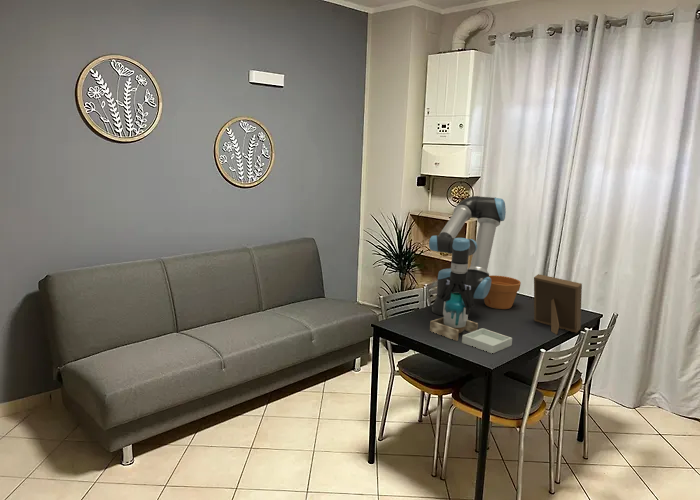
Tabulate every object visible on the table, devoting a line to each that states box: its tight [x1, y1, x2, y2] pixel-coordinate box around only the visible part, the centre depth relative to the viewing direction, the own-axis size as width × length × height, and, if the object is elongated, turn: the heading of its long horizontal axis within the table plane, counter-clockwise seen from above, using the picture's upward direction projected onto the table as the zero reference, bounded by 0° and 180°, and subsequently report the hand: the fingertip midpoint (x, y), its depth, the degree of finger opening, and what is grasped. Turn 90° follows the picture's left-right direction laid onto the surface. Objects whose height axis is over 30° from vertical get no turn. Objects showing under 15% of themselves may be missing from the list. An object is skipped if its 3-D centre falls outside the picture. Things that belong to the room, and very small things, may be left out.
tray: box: [461, 327, 513, 354], centre depth 235 cm, size 16×16×4 cm
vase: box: [443, 292, 466, 334], centre depth 246 cm, size 11×11×19 cm
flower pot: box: [483, 274, 522, 310], centre depth 292 cm, size 21×21×15 cm
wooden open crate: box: [429, 316, 479, 342], centre depth 248 cm, size 16×16×5 cm
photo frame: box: [533, 273, 583, 335], centre depth 257 cm, size 15×22×25 cm
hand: (455, 317), depth 246 cm, fingers closed on vase, 11 cm apart
